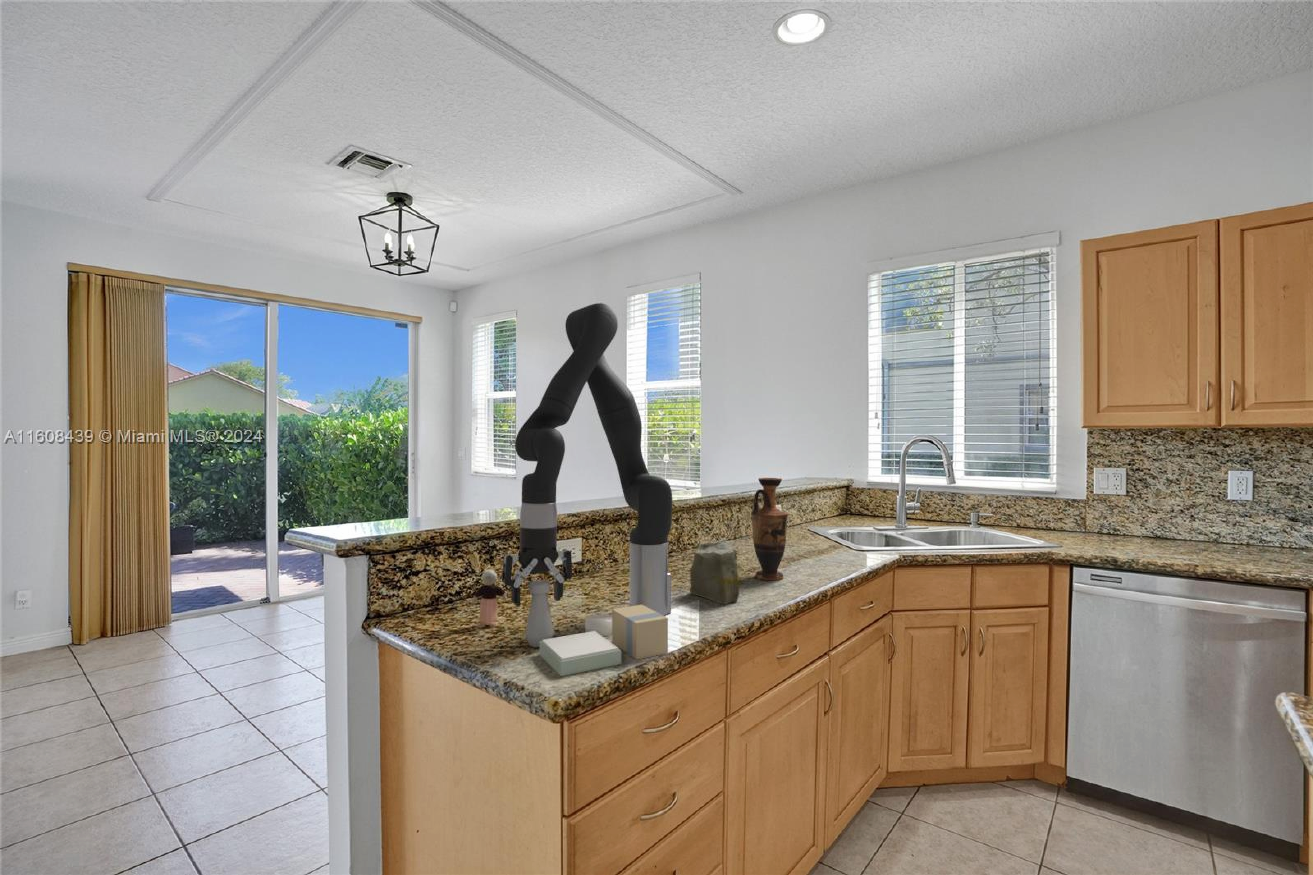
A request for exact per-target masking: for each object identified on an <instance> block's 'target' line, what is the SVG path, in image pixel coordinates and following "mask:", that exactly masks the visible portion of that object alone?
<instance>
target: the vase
mask: <svg viewBox="0 0 1313 875" xmlns="http://www.w3.org/2000/svg"><path fill="white" fill-rule="evenodd" d="M782 480H783V479H782V478H777V477H759V478H758V481H759V482H758V483H759V484H760V485H761V486H762V489H757V491H756V492H755V493H754V497H753V509H752V511H751V513H750V514H751V524H752V525H751V526H752V529H751V530H752V540H753V548H754V551H755V555H756V557H757V560H758V562H759V565H760V568H761V570H758V571H756V572H755V574H754V577H755V579H759V580H763V581H780V580H782V579H784V573H782V572H781V571H778V569H779V566H780V564H781V561H782V559H783V557H784V553H785V551H786V550H785V548H786V542H787V530H788V527H787V526H788V517H789V513H788V512H786V511H782V510H780V509H779V508H778V507H777V505H776V490H777V488H778V487H780V485H781V482H782ZM760 494H761V496H762V497H763V505H762V508H760V505H759V496H760Z"/></svg>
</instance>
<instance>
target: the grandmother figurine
mask: <svg viewBox="0 0 1313 875" xmlns="http://www.w3.org/2000/svg"><path fill="white" fill-rule="evenodd" d="M497 579H498V574H497V573H496V572H495V571H494V570H492V569H486V570H484V571H483V573H482V580H483V585H481V586H479V588H478V589H477V590H476V592H475V593H474V596H473V599H472V600H471V603H472V604H476V603H477V601H478V600H479V598H480V597H481V599H480V606H479V620H478V624H477V625H476V628H478V629H479V628H485V627H487V625H488V627H489V628H497V627H498V623H497V620H498V609H499V608H498V598H497V596H499V597H501V598H502V600H503V602H506V601H508V596H507V595H506V591H505V590H504V589H503V588H502V587H501V586H498V585H496V584H495V583H496V580H497Z"/></svg>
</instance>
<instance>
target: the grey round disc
mask: <svg viewBox="0 0 1313 875" xmlns="http://www.w3.org/2000/svg"><path fill="white" fill-rule="evenodd" d="M584 629H585V630H584V633H586V632H591V631H596V632H597V633H598V634H600V635H601V636H603V637H609V636H612V614H611V615H610V614H592V615H589V616H588V615H587V616H586V617H585V618H584Z"/></svg>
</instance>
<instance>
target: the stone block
mask: <svg viewBox="0 0 1313 875" xmlns="http://www.w3.org/2000/svg"><path fill="white" fill-rule="evenodd" d="M737 552H738V551H737V549H735V547H734V546H733V545H732V544H731V543H729V542H727V539H725V538H723V539H721V540H717V541H711V542H705V543H701V544H700V546H699V547H698V548H697V550H696V551H695V552H694V556H693V558H694V559H693V562H692V564H691V567H690V572H689V573H690V575H689V576H690V578H689V579H690V582H689V583H690V587H689V592H690V594H693V595H696V596H699V597H702V598H704V599H707V600H711V601H714V602H717V603H719V604H723V605H729V604H730V603H734V602H737V601H738V598H739V596H740V588H739V579H738V578H739V574H738V573H739V572H738V562H737V560H738V559H737V558H738V553H737Z"/></svg>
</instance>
